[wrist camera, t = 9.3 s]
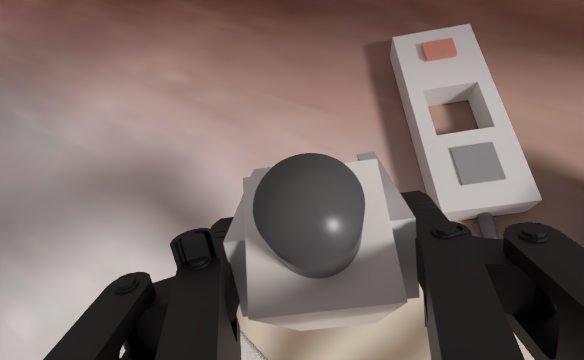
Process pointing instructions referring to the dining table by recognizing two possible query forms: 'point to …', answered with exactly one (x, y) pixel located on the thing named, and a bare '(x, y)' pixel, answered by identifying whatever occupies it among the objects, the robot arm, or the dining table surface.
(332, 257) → the plug
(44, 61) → the dining table surface
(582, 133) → the dining table surface
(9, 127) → the dining table surface
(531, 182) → the power strip
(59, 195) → the dining table surface
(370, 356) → the birch board
